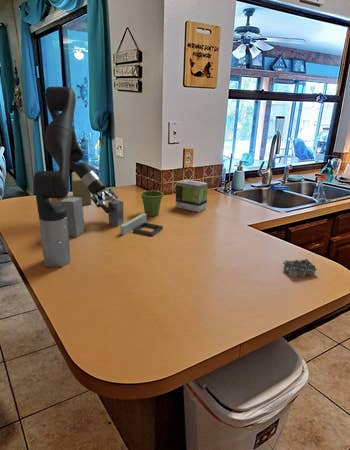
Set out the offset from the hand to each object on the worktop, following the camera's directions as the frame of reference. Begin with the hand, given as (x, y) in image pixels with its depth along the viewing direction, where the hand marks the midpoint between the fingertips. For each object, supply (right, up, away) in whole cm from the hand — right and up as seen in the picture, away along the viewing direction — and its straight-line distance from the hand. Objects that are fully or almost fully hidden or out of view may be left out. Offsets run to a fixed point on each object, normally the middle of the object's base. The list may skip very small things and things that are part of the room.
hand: (114, 209), depth 159 cm
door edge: (+10, -8, -2) cm, 13 cm away
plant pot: (+16, -2, +18) cm, 24 cm away
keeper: (+16, -10, -5) cm, 20 cm away
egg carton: (+74, -25, -37) cm, 86 cm away
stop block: (+1, -7, +2) cm, 7 cm away
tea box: (+38, +2, +30) cm, 48 cm away
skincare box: (-16, -11, -11) cm, 22 cm away
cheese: (-27, +7, +36) cm, 45 cm away
